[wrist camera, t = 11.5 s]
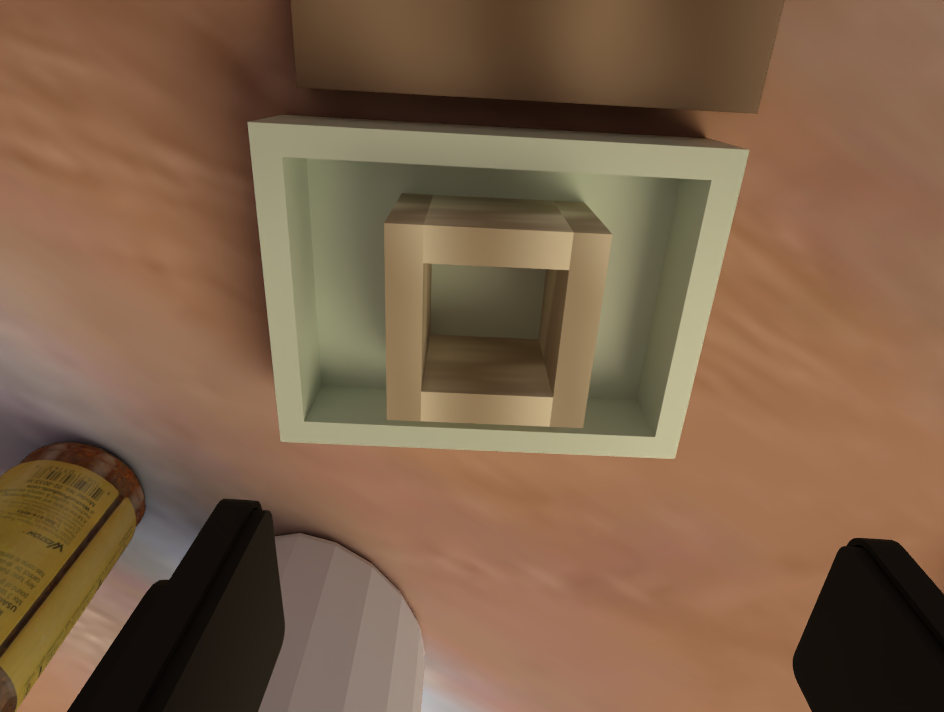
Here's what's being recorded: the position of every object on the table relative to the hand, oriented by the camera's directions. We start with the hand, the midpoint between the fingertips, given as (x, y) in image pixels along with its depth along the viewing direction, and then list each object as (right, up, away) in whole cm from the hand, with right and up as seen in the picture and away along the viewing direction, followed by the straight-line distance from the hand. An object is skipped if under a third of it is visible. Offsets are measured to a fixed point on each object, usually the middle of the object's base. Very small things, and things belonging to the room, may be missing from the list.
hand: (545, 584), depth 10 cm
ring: (-1, +7, +14) cm, 16 cm away
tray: (-1, +7, +15) cm, 17 cm away
